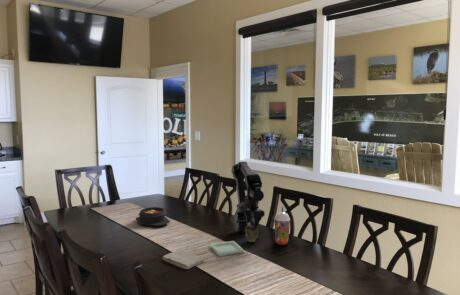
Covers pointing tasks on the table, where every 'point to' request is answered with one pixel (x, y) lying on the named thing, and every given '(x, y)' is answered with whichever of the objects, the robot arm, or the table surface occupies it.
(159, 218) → the casserole
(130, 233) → the table surface
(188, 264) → the washcloth
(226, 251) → the tray
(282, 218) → the smoothie
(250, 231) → the cup
